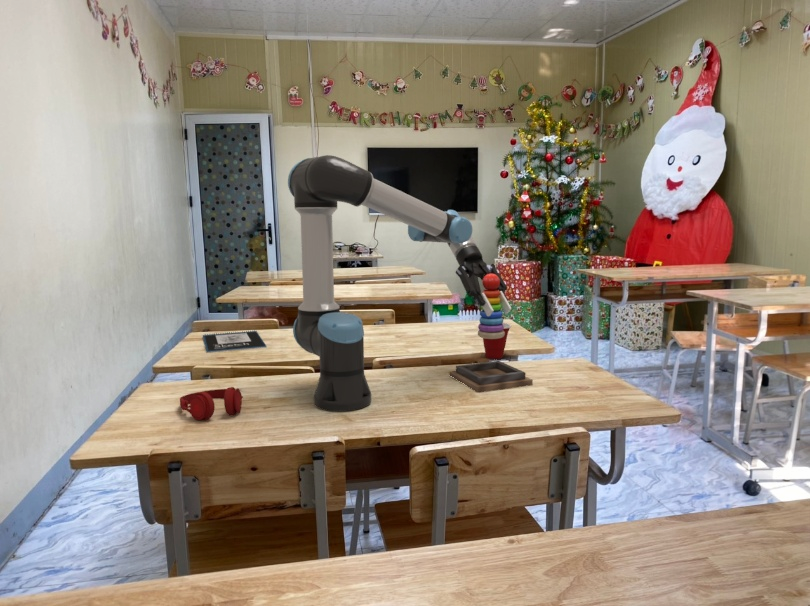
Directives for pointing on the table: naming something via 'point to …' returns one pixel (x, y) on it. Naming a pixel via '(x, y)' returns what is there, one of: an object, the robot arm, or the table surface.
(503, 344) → the plastic cup
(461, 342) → the table surface
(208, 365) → the table surface
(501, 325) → the stacking toy
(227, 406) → the headphones
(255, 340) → the sketchbook
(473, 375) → the board
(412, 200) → the robot arm
